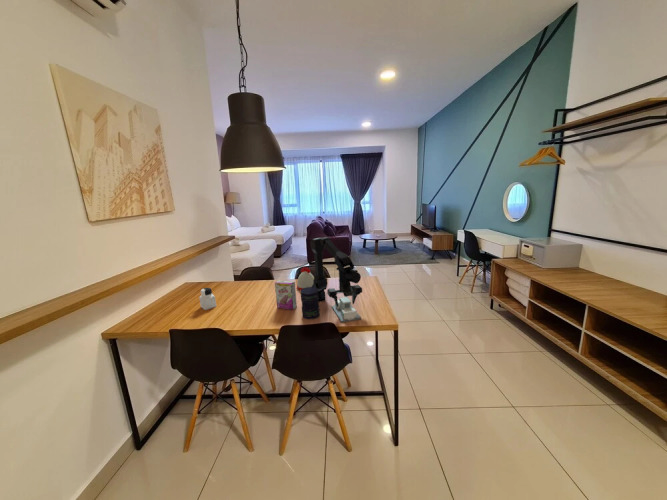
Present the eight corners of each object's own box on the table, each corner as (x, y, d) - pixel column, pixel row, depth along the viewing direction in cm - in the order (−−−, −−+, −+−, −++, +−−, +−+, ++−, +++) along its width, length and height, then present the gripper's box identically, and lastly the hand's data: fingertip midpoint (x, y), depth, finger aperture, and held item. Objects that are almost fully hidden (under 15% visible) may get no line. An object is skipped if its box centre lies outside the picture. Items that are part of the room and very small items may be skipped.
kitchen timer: (310, 291, 186) (308, 270, 183) (293, 289, 192) (291, 268, 188) (319, 284, 198) (318, 265, 195) (303, 282, 204) (302, 263, 201)
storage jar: (309, 310, 157) (307, 285, 154) (323, 313, 152) (321, 288, 149) (298, 317, 149) (296, 292, 145) (313, 321, 144) (311, 294, 140)
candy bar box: (276, 308, 161) (274, 282, 157) (280, 305, 166) (278, 279, 162) (293, 310, 157) (291, 284, 154) (297, 306, 162) (295, 281, 158)
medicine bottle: (212, 303, 173) (209, 285, 171) (216, 306, 168) (213, 288, 166) (200, 307, 168) (197, 289, 166) (204, 310, 163) (201, 291, 161)
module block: (343, 314, 147) (343, 302, 145) (340, 309, 154) (339, 297, 152) (351, 313, 148) (351, 301, 146) (347, 308, 155) (347, 296, 153)
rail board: (341, 322, 140) (340, 314, 139) (331, 307, 159) (331, 300, 158) (361, 319, 143) (360, 311, 142) (349, 304, 162) (349, 297, 161)
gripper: (331, 285, 137) (332, 314, 140) (365, 281, 141) (366, 308, 145) (326, 279, 147) (327, 305, 151) (358, 274, 152) (359, 300, 155)
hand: (345, 305), depth 150 cm, fingers open, 9 cm apart
